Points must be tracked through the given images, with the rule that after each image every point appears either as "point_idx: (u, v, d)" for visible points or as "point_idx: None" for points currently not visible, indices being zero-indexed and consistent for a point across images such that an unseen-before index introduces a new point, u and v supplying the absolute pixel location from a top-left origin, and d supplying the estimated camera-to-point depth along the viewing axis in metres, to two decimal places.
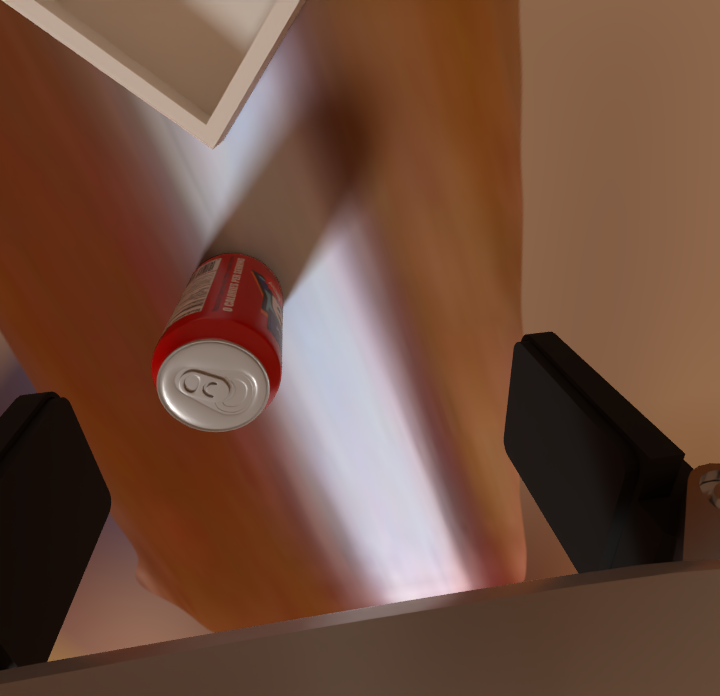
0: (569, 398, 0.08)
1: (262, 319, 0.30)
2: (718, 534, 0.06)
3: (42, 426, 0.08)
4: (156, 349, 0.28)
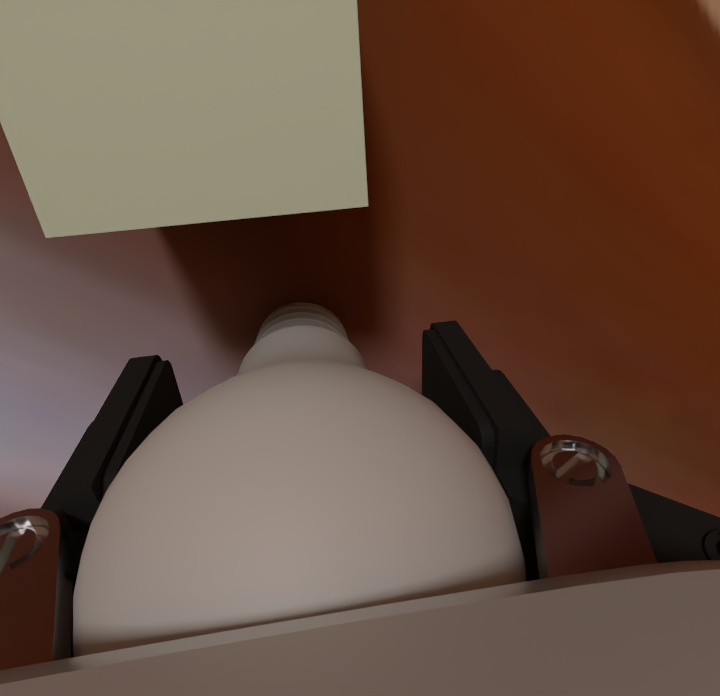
0: (451, 379, 0.09)
1: None
2: (564, 504, 0.06)
3: (158, 383, 0.09)
4: None
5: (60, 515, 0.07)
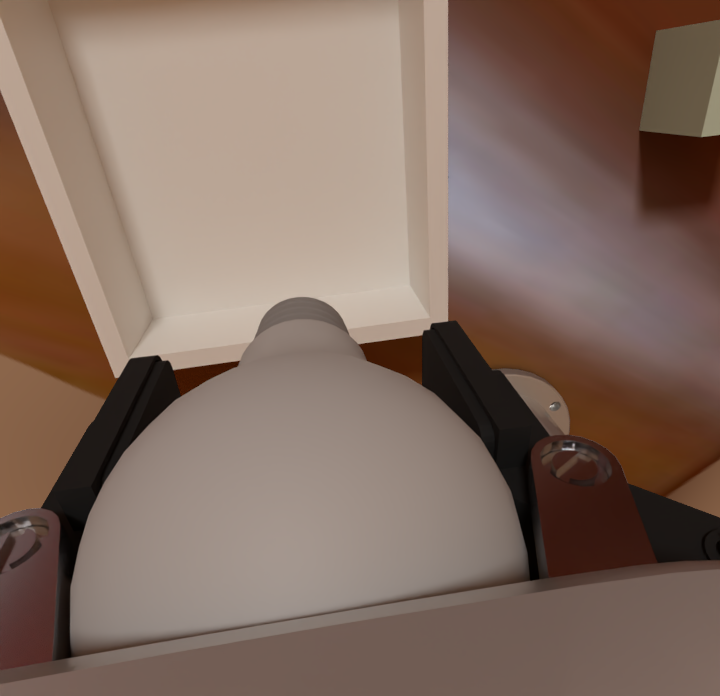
0: (452, 379, 0.09)
1: None
2: (564, 504, 0.06)
3: (158, 383, 0.09)
4: None
5: (60, 515, 0.07)
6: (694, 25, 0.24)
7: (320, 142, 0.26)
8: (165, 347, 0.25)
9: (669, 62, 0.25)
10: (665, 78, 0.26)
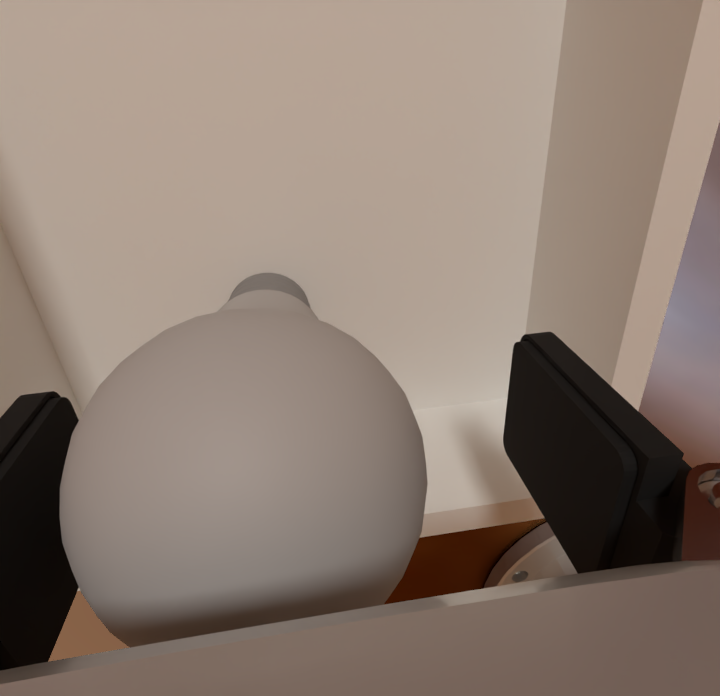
0: (568, 398, 0.08)
1: None
2: (717, 534, 0.06)
3: (43, 425, 0.08)
4: None
5: None
6: None
7: (399, 171, 0.14)
8: None
9: None
10: None
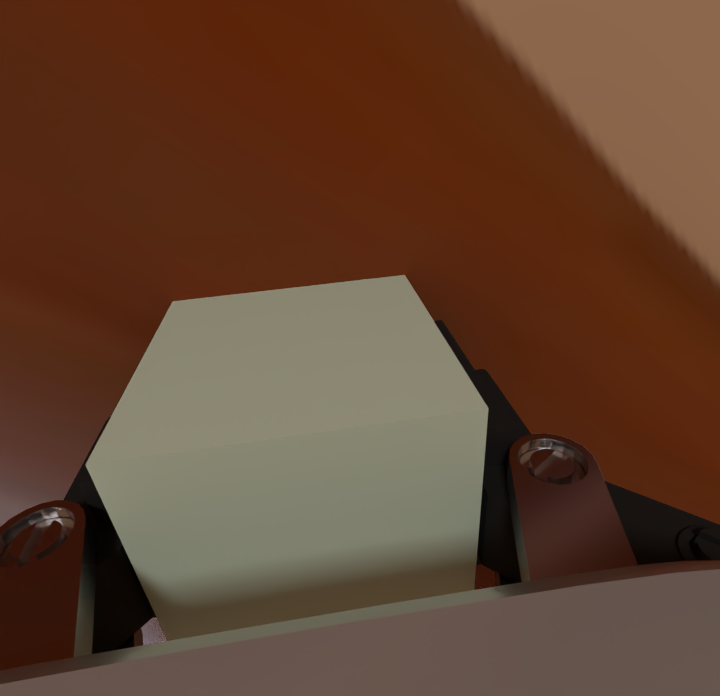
0: None
1: None
2: (543, 503, 0.06)
3: None
4: None
5: (82, 507, 0.07)
6: (135, 376, 0.08)
7: None
8: None
9: None
10: None
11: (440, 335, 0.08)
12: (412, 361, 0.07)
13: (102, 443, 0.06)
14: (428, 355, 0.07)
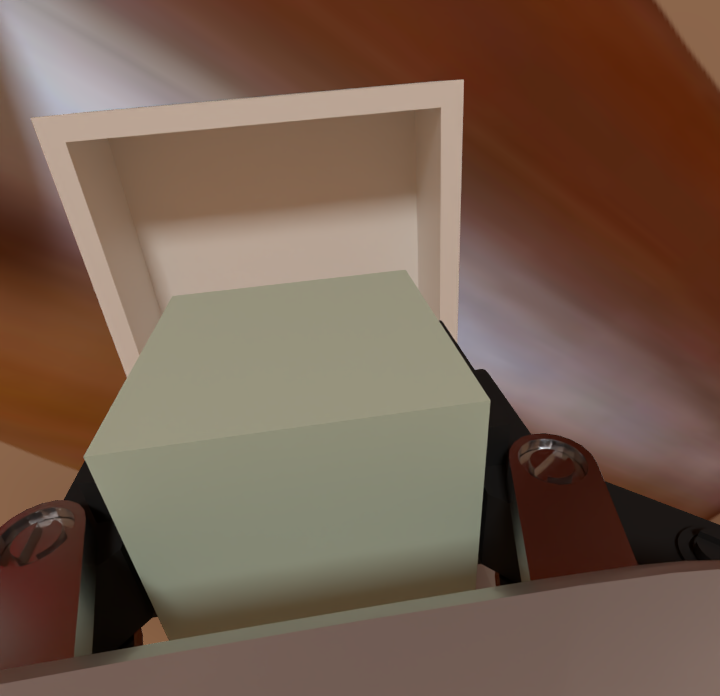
0: None
1: None
2: (543, 503, 0.06)
3: None
4: None
5: (82, 507, 0.07)
6: (134, 369, 0.07)
7: None
8: None
9: None
10: None
11: (441, 328, 0.08)
12: (413, 353, 0.07)
13: (100, 435, 0.06)
14: (428, 348, 0.07)
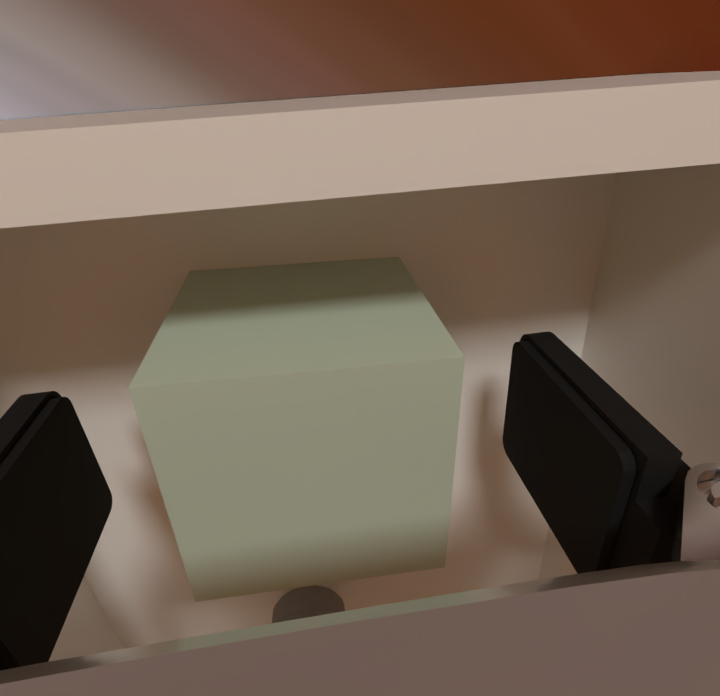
0: (567, 398, 0.08)
1: None
2: (716, 533, 0.06)
3: (44, 425, 0.08)
4: None
5: None
6: None
7: None
8: None
9: None
10: None
11: (428, 304, 0.09)
12: (403, 322, 0.08)
13: (140, 373, 0.07)
14: (416, 318, 0.09)
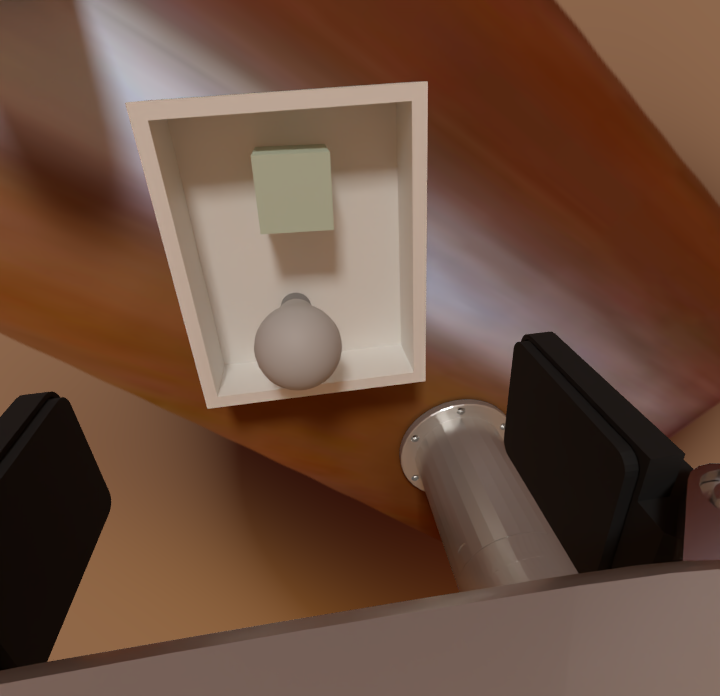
0: (569, 398, 0.08)
1: None
2: (718, 534, 0.06)
3: (42, 426, 0.08)
4: None
5: None
6: (252, 152, 0.32)
7: (344, 256, 0.39)
8: (240, 388, 0.39)
9: None
10: None
11: (326, 148, 0.32)
12: (318, 150, 0.31)
13: (252, 154, 0.30)
14: (322, 149, 0.32)
